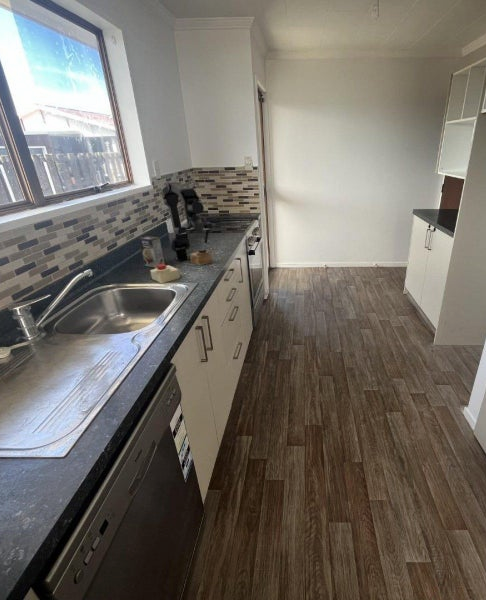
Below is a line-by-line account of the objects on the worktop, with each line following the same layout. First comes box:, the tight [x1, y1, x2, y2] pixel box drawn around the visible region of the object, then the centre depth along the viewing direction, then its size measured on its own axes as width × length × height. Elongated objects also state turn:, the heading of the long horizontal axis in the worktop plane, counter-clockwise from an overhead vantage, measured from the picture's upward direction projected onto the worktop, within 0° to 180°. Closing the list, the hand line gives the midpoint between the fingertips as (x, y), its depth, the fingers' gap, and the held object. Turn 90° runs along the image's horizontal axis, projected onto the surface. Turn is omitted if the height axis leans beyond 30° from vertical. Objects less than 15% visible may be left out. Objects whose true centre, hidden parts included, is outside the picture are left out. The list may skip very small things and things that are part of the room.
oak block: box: [189, 249, 212, 267], centre depth 188 cm, size 11×8×7 cm
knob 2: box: [198, 247, 207, 253], centre depth 185 cm, size 4×4×2 cm
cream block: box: [150, 265, 181, 284], centre depth 166 cm, size 10×10×6 cm
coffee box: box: [138, 235, 165, 269], centre depth 183 cm, size 9×6×16 cm
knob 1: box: [157, 263, 167, 270], centre depth 162 cm, size 4×4×2 cm
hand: (197, 244), depth 171 cm, fingers open, 9 cm apart
